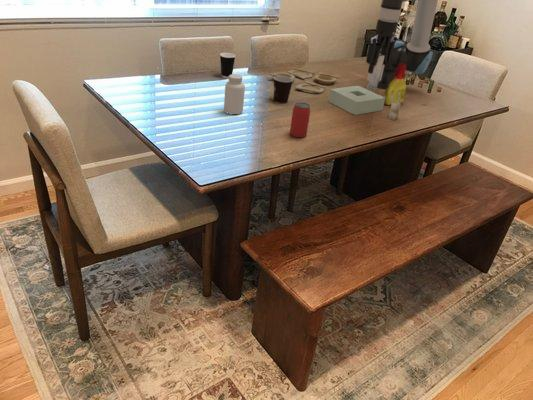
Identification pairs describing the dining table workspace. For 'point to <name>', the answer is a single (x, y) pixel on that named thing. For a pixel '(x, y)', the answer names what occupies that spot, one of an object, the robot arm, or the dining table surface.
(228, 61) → the dixie cup
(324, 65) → the dining table surface
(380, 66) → the long pin
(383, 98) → the pin block
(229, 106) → the pill bottle
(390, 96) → the bottle
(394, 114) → the short pin
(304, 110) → the beer can
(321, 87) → the tableware set
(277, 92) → the coffee mug
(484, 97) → the dining table surface
